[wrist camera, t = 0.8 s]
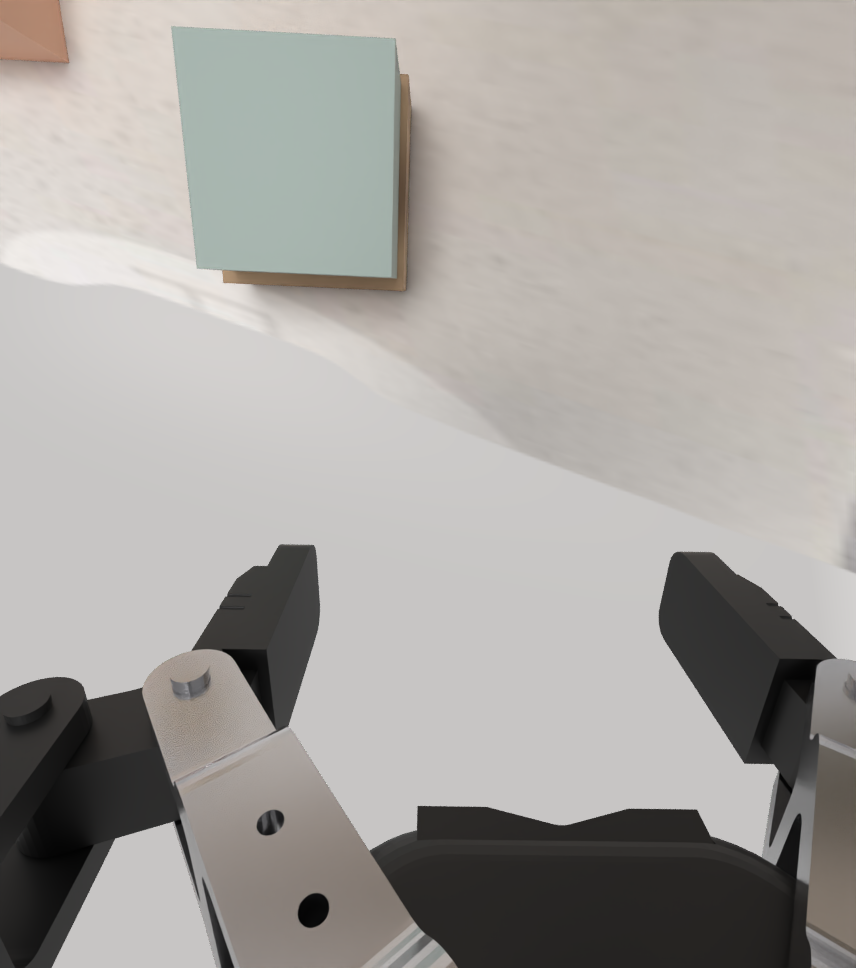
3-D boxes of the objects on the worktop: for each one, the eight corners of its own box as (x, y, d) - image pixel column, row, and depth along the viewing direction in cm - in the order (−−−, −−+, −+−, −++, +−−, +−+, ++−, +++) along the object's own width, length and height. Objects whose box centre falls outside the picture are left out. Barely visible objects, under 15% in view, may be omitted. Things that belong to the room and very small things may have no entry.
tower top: (217, 73, 26) (171, 26, 21) (400, 82, 26) (395, 38, 21) (233, 270, 29) (196, 268, 24) (396, 278, 29) (391, 277, 24)
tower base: (238, 97, 30) (203, 63, 26) (411, 106, 30) (408, 74, 26) (251, 282, 34) (223, 282, 29) (406, 289, 34) (403, 290, 29)
